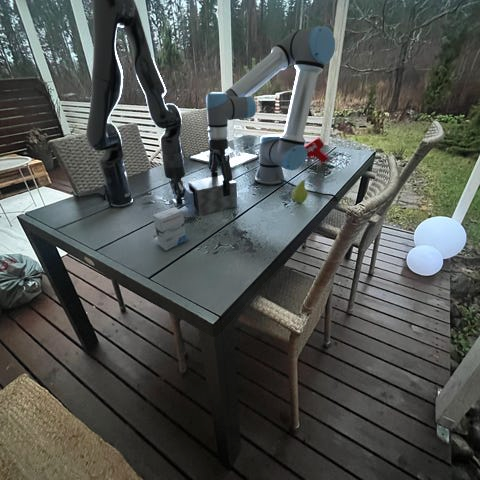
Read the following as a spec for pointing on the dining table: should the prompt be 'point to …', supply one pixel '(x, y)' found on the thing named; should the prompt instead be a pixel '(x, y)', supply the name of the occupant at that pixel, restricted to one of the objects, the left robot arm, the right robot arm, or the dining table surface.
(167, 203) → the dining table surface
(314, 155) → the toy gun
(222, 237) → the dining table surface
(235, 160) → the relief map
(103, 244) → the dining table surface
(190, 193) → the drawer
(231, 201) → the white box dark end
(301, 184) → the fruit
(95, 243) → the dining table surface
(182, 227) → the ink box
